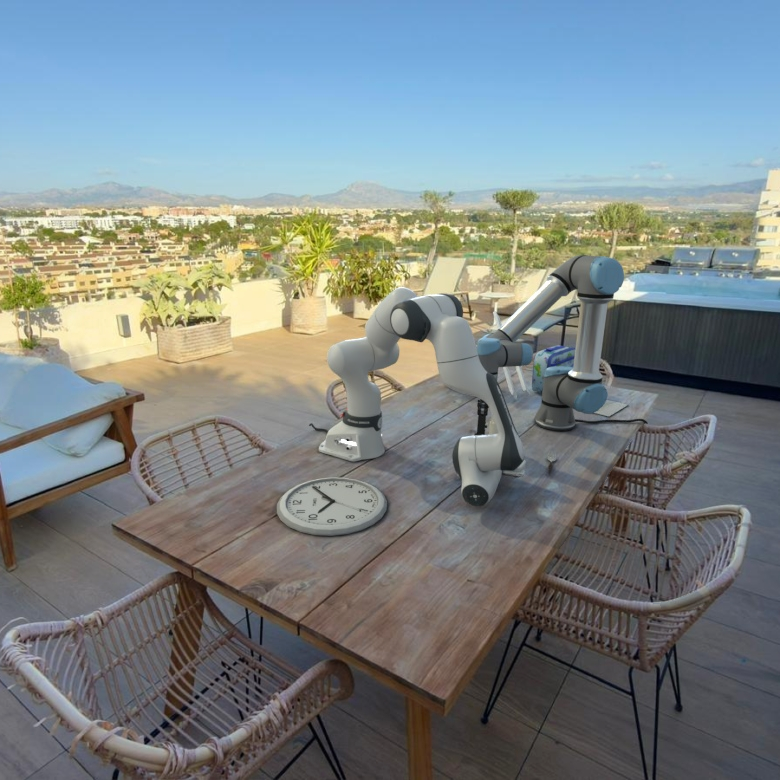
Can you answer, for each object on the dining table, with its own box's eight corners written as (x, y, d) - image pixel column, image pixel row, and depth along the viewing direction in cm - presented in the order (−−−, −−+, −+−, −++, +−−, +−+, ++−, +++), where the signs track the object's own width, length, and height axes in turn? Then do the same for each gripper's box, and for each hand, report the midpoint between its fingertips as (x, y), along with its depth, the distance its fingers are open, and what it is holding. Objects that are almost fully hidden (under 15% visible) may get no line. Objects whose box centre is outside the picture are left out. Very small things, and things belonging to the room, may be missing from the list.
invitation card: (608, 416, 214) (573, 407, 224) (608, 416, 214) (573, 408, 224) (628, 404, 229) (594, 396, 238) (628, 405, 229) (594, 397, 238)
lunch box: (548, 398, 236) (553, 353, 229) (527, 393, 243) (531, 349, 237) (575, 387, 253) (581, 344, 247) (555, 382, 260) (560, 341, 254)
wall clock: (392, 527, 129) (268, 531, 127) (391, 533, 130) (269, 537, 127) (383, 473, 158) (282, 475, 155) (383, 478, 158) (282, 480, 156)
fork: (544, 474, 162) (545, 469, 162) (548, 455, 177) (548, 449, 176) (553, 476, 161) (554, 470, 161) (556, 456, 176) (557, 450, 175)
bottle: (493, 478, 160) (498, 418, 154) (482, 472, 164) (486, 414, 158) (503, 474, 163) (508, 415, 157) (492, 468, 166) (497, 411, 160)
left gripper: (524, 467, 145) (530, 448, 157) (452, 455, 152) (463, 438, 164) (522, 487, 147) (528, 467, 159) (451, 474, 154) (462, 456, 166)
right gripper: (475, 376, 183) (470, 438, 190) (471, 391, 166) (466, 458, 173) (497, 378, 182) (491, 440, 188) (495, 393, 165) (489, 461, 171)
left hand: (495, 452), depth 162 cm, fingers closed on bottle, 4 cm apart
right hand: (479, 449), depth 181 cm, fingers closed on lid, 5 cm apart
